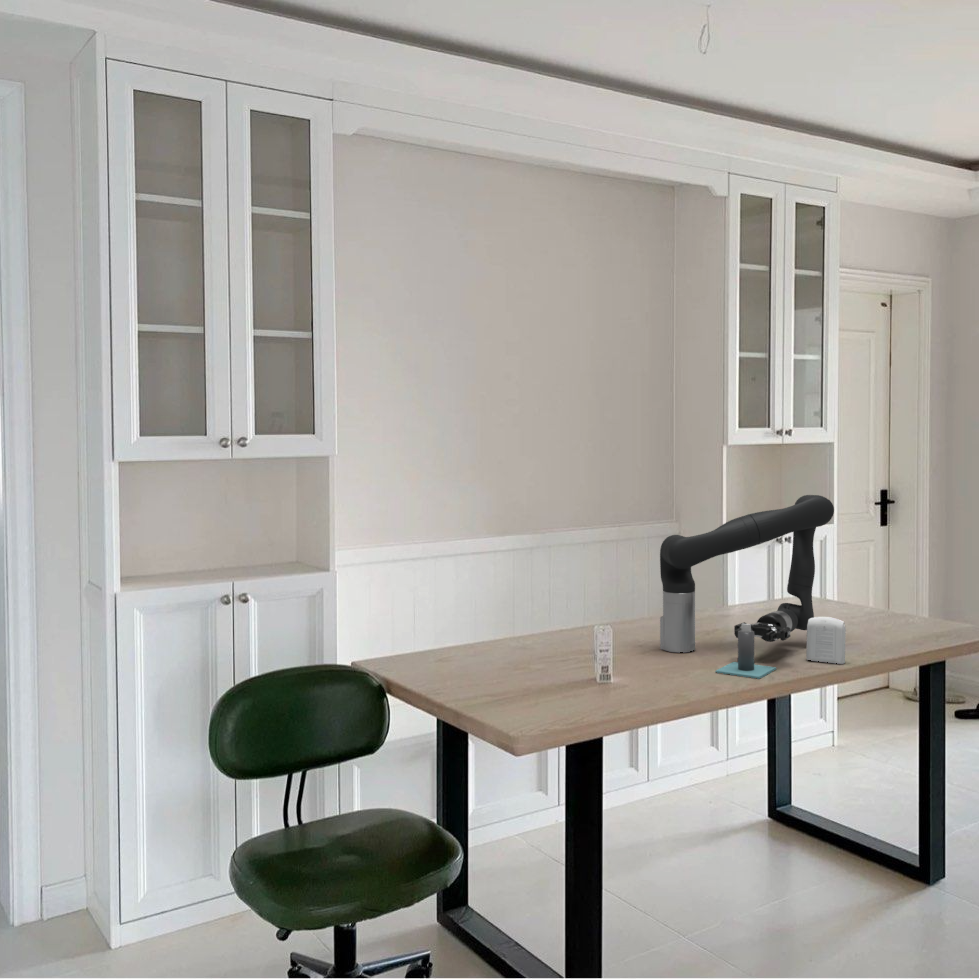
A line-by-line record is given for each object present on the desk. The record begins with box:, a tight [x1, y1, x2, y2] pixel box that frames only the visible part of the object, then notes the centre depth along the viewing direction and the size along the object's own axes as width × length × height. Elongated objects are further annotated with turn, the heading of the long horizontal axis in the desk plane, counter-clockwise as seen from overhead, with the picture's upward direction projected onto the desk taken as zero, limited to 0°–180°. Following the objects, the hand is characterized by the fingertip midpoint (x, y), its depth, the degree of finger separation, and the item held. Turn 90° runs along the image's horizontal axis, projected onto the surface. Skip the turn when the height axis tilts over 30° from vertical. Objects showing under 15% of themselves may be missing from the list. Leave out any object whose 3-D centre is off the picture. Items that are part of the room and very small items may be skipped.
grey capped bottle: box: [737, 623, 755, 671], centre depth 271 cm, size 4×4×12 cm
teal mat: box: [715, 661, 777, 680], centre depth 272 cm, size 12×12×1 cm
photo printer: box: [805, 616, 847, 665], centre depth 281 cm, size 10×4×12 cm, turn 60°
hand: (752, 636), depth 275 cm, fingers open, 8 cm apart
